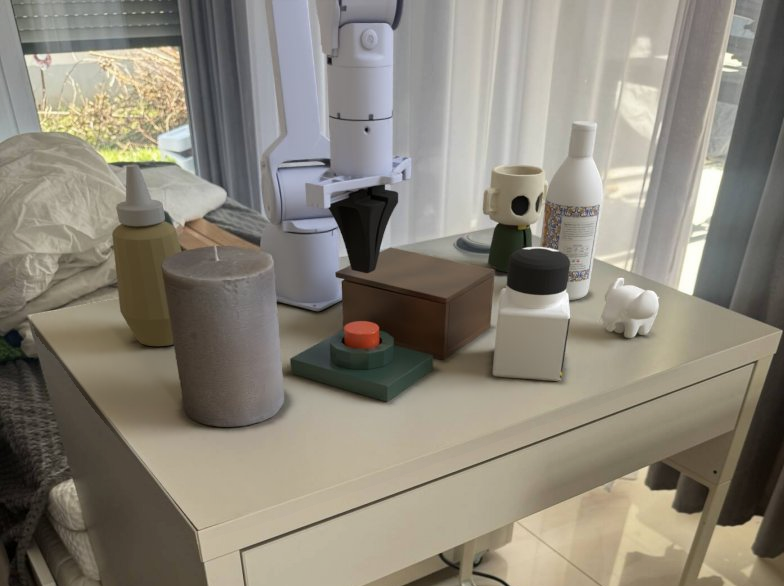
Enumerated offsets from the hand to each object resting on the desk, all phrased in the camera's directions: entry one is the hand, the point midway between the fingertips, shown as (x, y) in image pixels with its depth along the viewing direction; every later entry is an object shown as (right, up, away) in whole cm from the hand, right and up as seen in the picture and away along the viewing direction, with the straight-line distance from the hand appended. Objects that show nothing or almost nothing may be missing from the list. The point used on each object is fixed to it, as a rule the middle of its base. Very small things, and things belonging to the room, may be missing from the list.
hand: (363, 269), depth 77 cm
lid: (+5, +3, +10) cm, 12 cm away
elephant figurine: (+30, -3, +14) cm, 34 cm away
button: (0, -7, +3) cm, 7 cm away
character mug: (+19, +11, +33) cm, 40 cm away
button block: (0, -9, +5) cm, 10 cm away
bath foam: (+25, +6, +25) cm, 36 cm away
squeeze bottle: (-23, -4, +11) cm, 26 cm away
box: (+6, -2, +14) cm, 15 cm away
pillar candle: (-12, -14, -2) cm, 19 cm away
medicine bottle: (+17, -8, +7) cm, 20 cm away
